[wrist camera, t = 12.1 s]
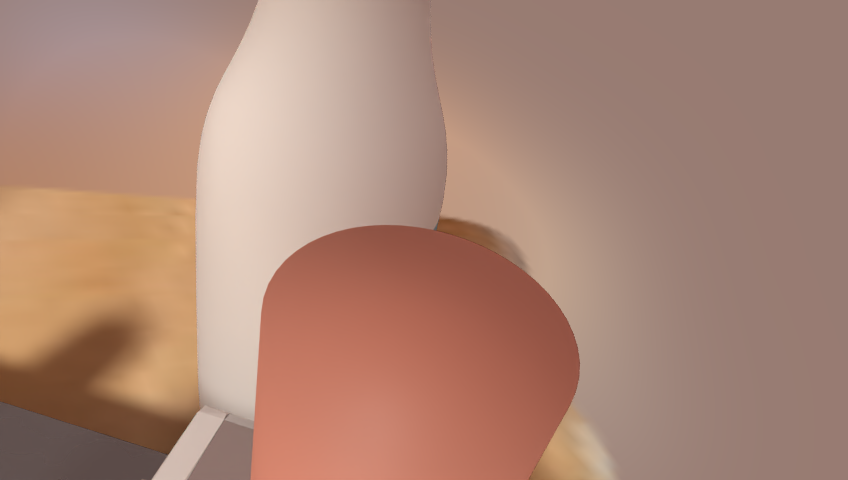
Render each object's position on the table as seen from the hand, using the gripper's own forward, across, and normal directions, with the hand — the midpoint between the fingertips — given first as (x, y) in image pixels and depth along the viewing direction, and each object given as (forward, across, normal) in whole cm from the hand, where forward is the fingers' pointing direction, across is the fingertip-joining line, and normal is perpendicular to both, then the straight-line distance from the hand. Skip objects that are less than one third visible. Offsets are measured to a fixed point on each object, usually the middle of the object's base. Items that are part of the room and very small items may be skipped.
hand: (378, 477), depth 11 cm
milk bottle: (+9, +4, +10) cm, 14 cm away
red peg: (-1, 0, +7) cm, 7 cm away
